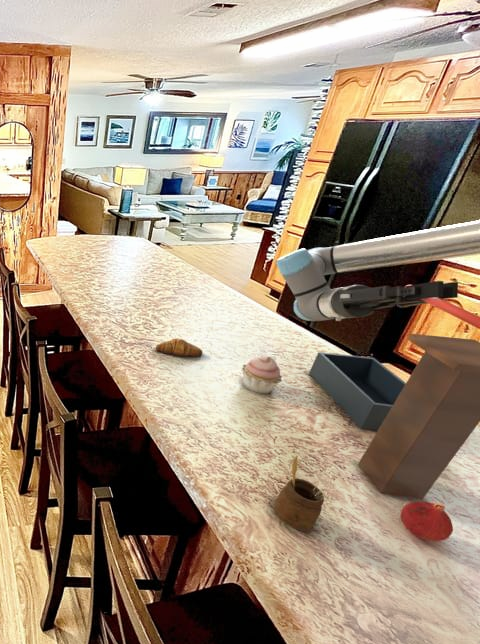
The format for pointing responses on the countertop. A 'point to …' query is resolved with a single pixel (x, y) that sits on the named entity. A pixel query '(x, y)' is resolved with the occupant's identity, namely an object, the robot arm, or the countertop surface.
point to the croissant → (179, 348)
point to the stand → (427, 418)
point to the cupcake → (261, 374)
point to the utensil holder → (299, 502)
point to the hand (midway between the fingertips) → (447, 289)
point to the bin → (358, 386)
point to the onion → (427, 520)
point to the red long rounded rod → (454, 310)
